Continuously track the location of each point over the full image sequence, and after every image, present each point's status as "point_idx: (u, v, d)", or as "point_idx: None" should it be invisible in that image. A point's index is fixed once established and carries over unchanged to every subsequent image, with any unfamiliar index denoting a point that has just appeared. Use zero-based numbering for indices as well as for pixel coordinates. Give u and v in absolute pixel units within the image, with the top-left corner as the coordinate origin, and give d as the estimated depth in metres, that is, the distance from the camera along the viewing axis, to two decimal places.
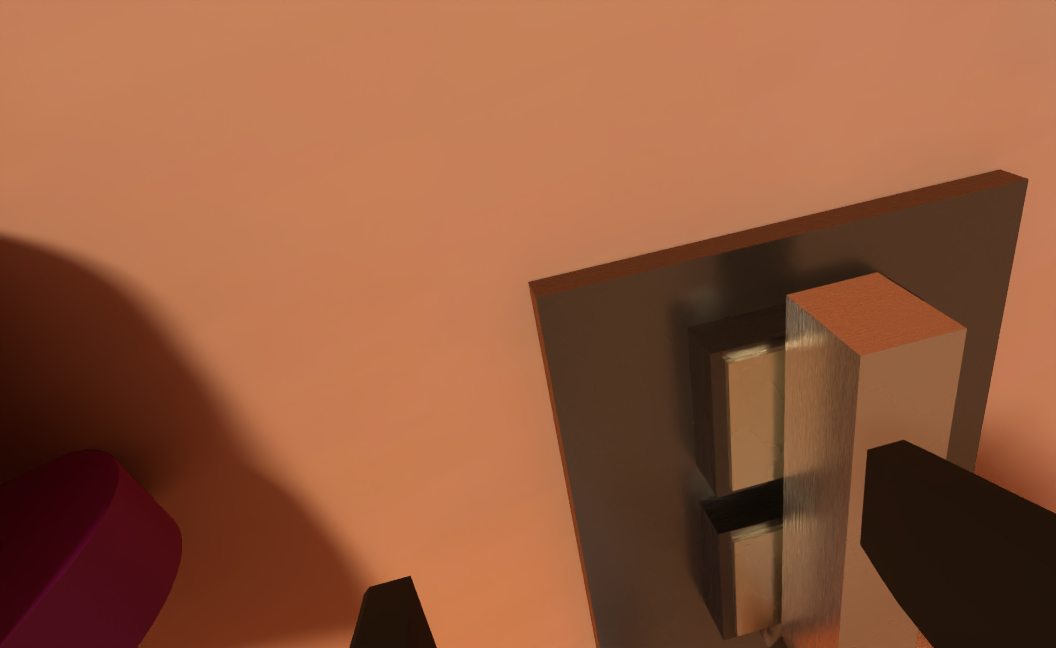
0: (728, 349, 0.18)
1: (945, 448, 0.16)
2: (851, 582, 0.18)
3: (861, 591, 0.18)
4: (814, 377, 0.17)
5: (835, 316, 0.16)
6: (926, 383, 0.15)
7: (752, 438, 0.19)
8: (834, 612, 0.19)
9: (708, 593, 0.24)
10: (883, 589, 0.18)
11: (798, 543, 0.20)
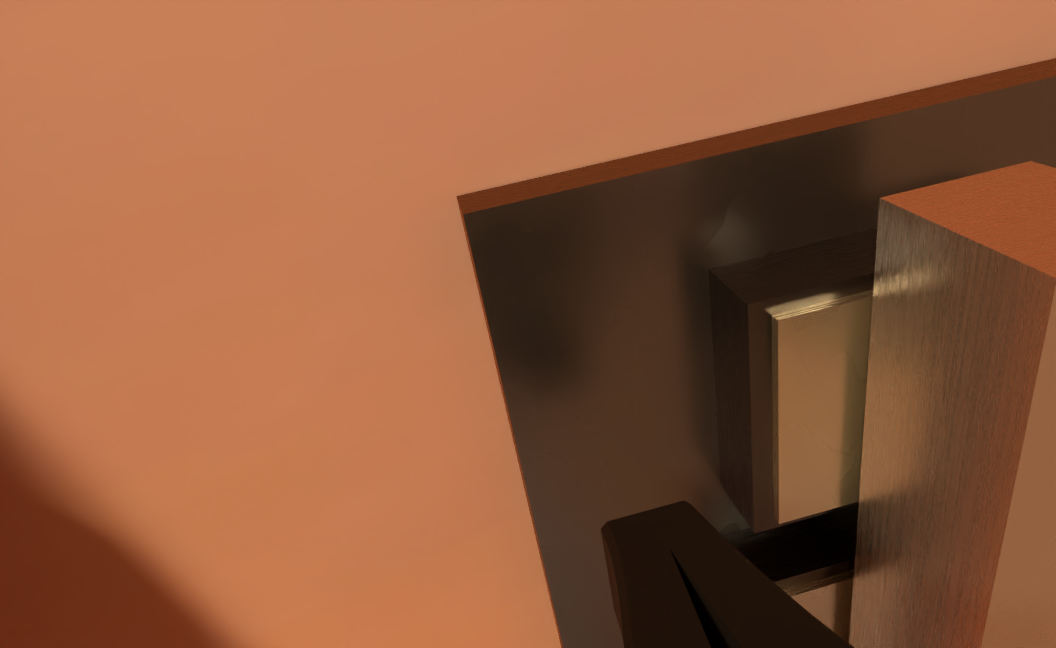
0: (777, 297, 0.11)
1: None
2: None
3: None
4: (932, 336, 0.10)
5: (980, 222, 0.09)
6: None
7: (811, 442, 0.12)
8: None
9: None
10: None
11: (882, 605, 0.13)
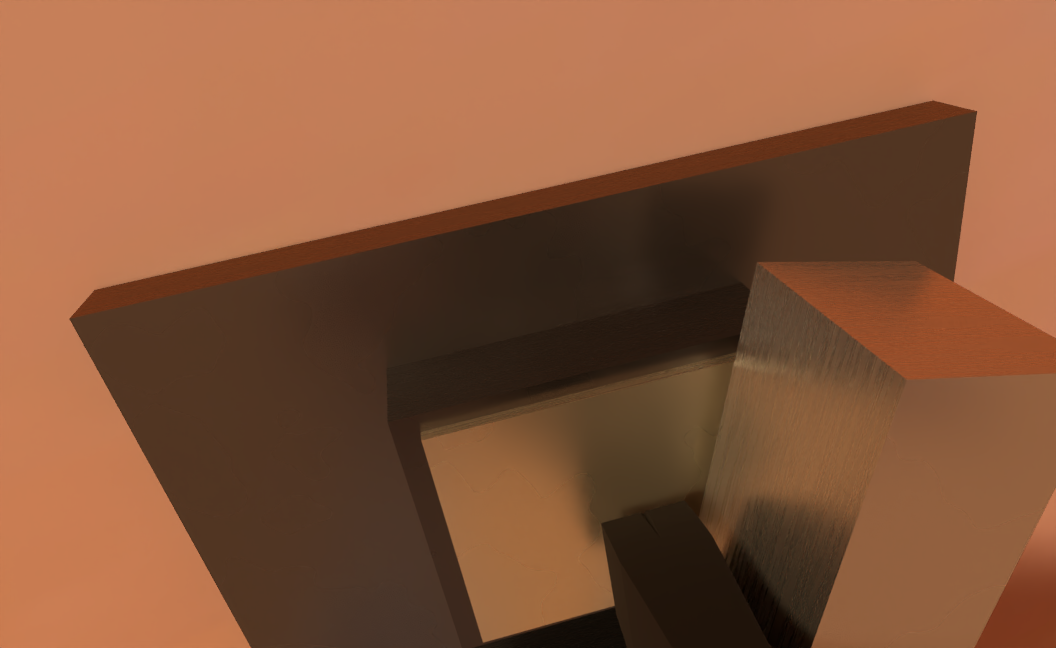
0: (422, 413, 0.10)
1: (992, 602, 0.08)
2: None
3: None
4: (779, 421, 0.09)
5: (847, 306, 0.08)
6: (1005, 469, 0.07)
7: (499, 561, 0.11)
8: None
9: None
10: None
11: None
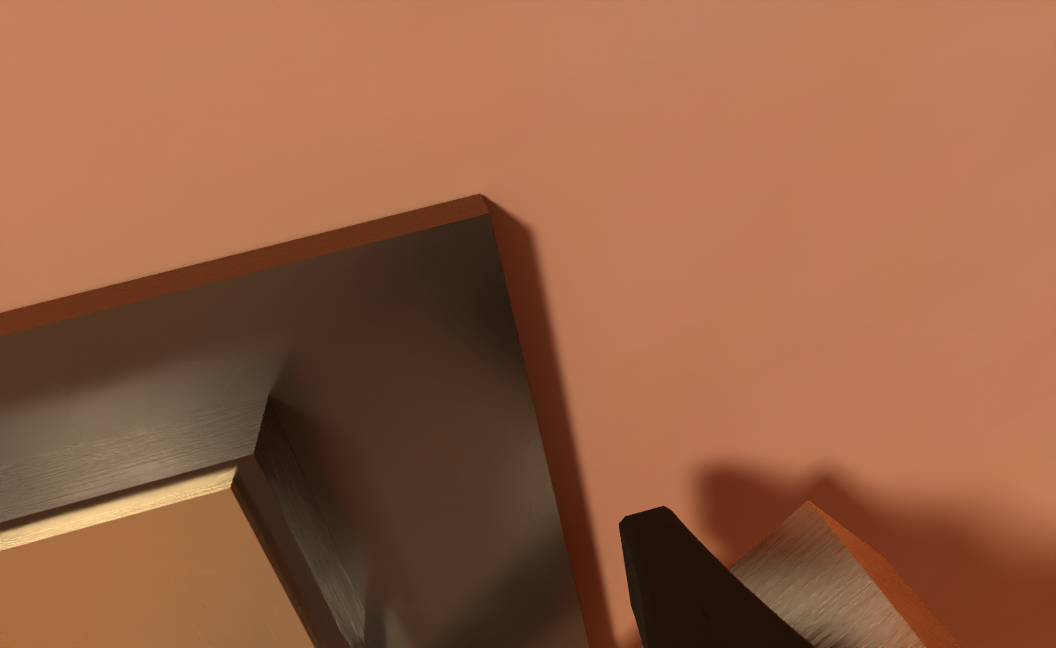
0: None
1: None
2: None
3: None
4: None
5: (874, 575, 0.10)
6: None
7: None
8: None
9: None
10: None
11: None
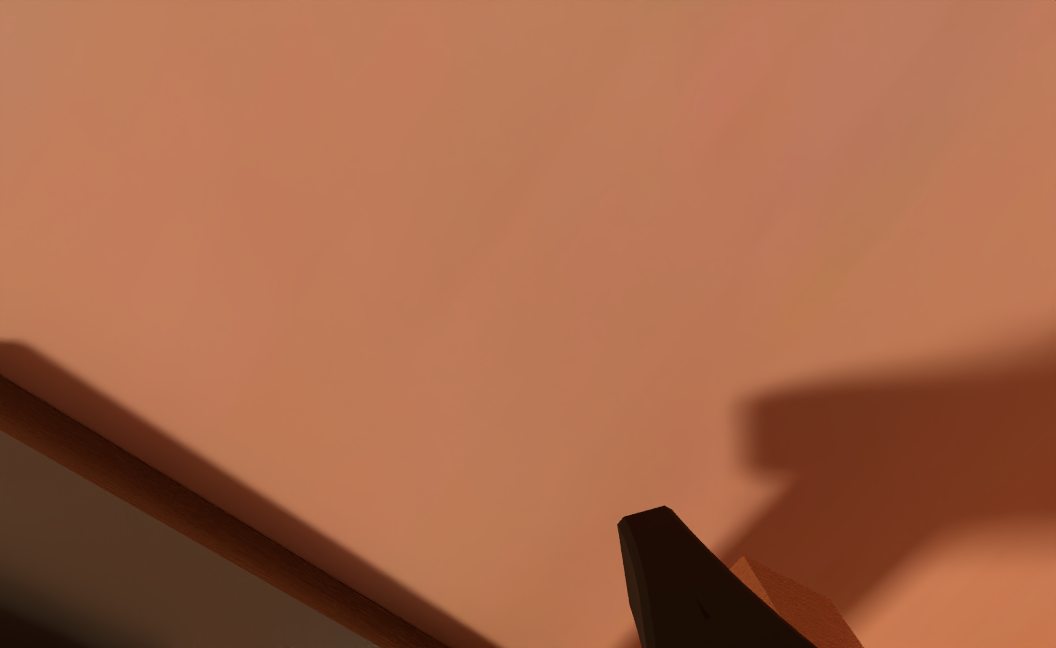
0: None
1: None
2: None
3: None
4: None
5: (802, 632, 0.11)
6: None
7: None
8: None
9: None
10: None
11: None
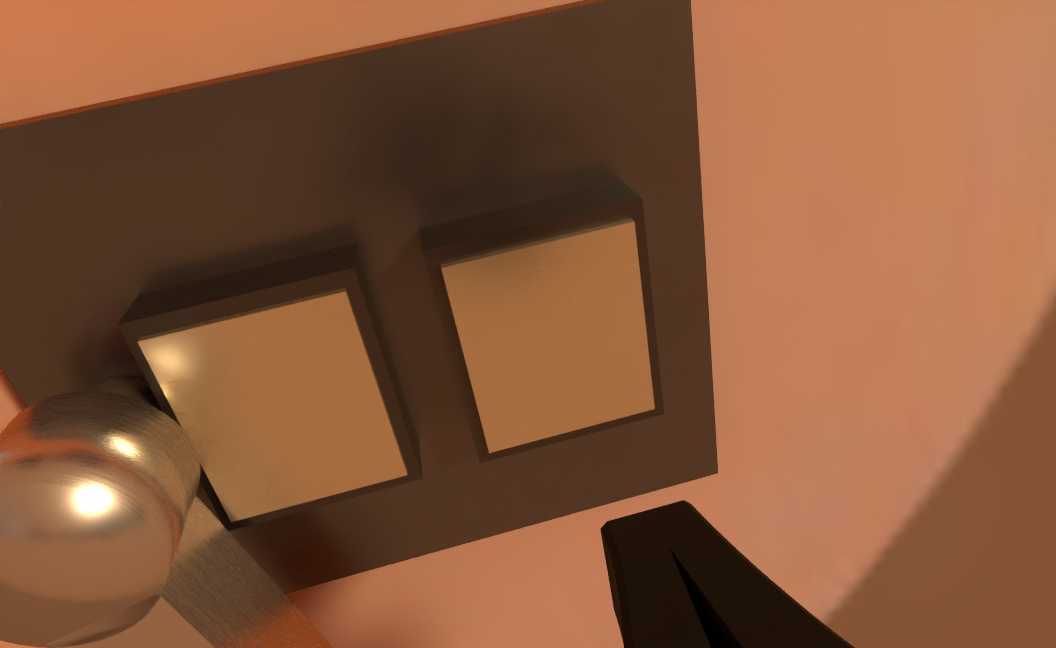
0: (644, 219, 0.16)
1: None
2: None
3: None
4: None
5: None
6: None
7: (524, 274, 0.16)
8: None
9: (180, 290, 0.16)
10: None
11: None
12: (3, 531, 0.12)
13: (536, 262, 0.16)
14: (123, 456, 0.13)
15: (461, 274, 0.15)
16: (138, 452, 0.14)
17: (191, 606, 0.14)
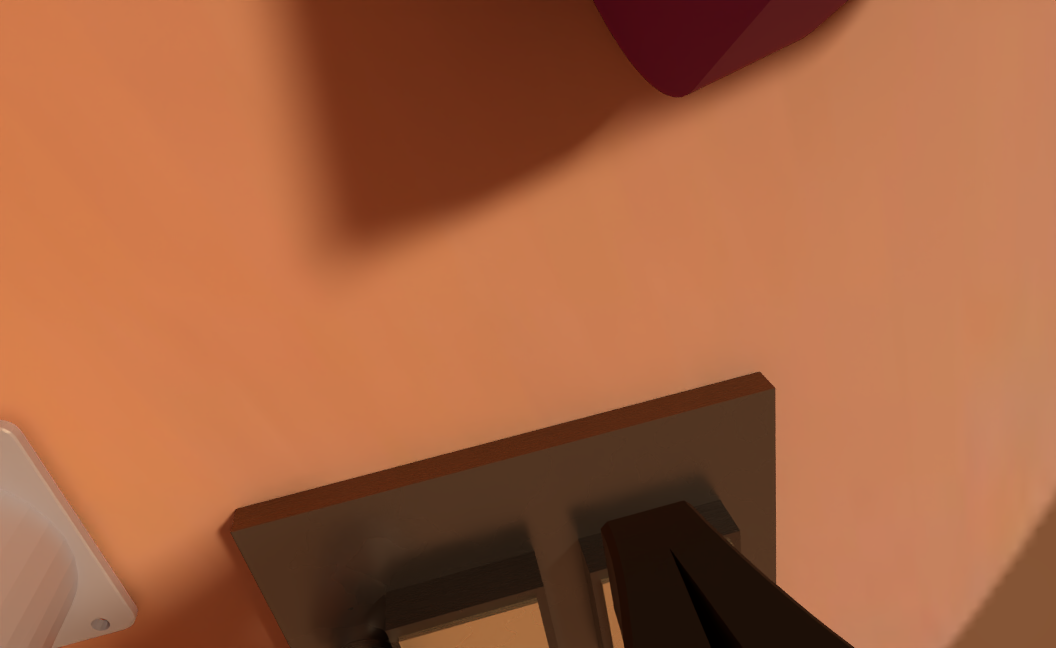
0: (740, 541, 0.23)
1: None
2: None
3: None
4: None
5: None
6: None
7: None
8: None
9: (417, 592, 0.22)
10: None
11: None
12: None
13: None
14: None
15: None
16: None
17: None
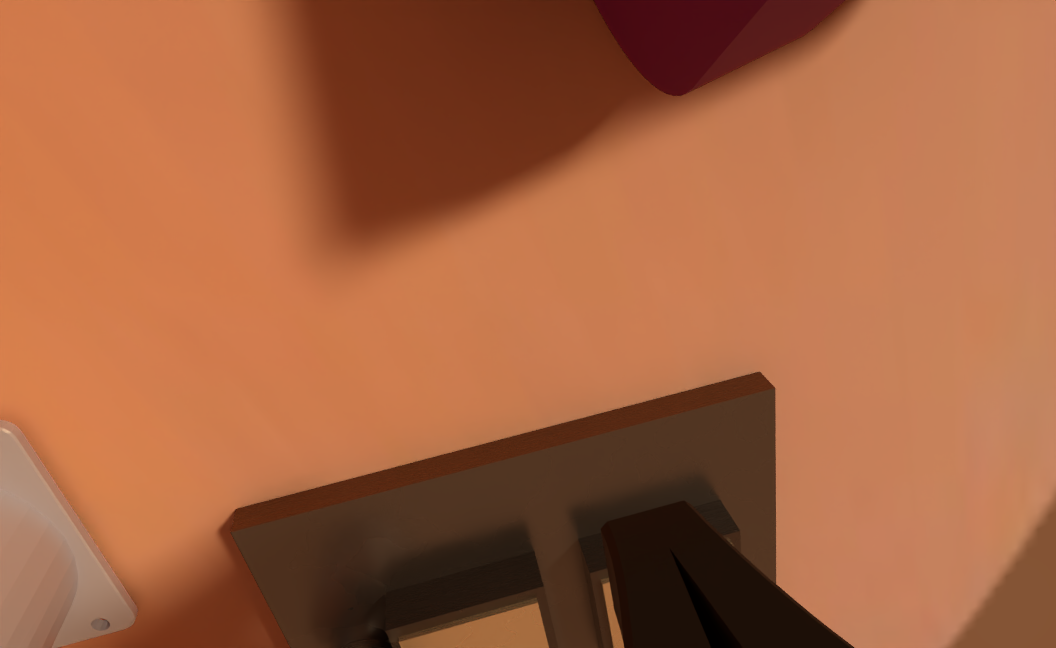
0: (740, 541, 0.23)
1: None
2: None
3: None
4: None
5: None
6: None
7: None
8: None
9: (417, 592, 0.22)
10: None
11: None
12: None
13: None
14: None
15: None
16: None
17: None
